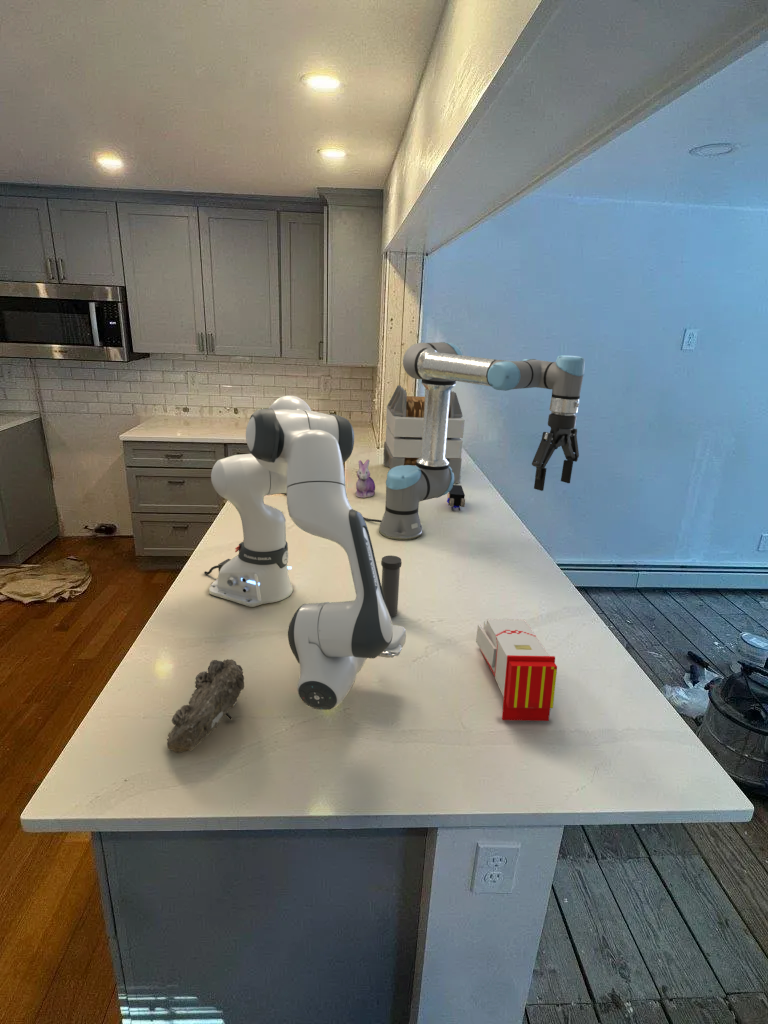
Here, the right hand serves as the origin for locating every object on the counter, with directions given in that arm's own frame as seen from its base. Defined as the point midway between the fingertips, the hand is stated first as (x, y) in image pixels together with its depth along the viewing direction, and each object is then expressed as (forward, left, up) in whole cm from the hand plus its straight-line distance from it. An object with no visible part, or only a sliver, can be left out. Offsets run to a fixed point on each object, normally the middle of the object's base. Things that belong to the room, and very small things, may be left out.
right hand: (552, 485), depth 166 cm
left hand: (+3, -72, -17) cm, 74 cm away
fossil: (0, -107, -28) cm, 110 cm away
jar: (-9, -54, -28) cm, 61 cm away
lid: (-9, -54, -13) cm, 56 cm away
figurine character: (-57, +24, -28) cm, 68 cm away
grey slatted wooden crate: (-101, +46, -28) cm, 115 cm away
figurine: (-89, +3, -28) cm, 94 cm away
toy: (+28, -51, -28) cm, 65 cm away
